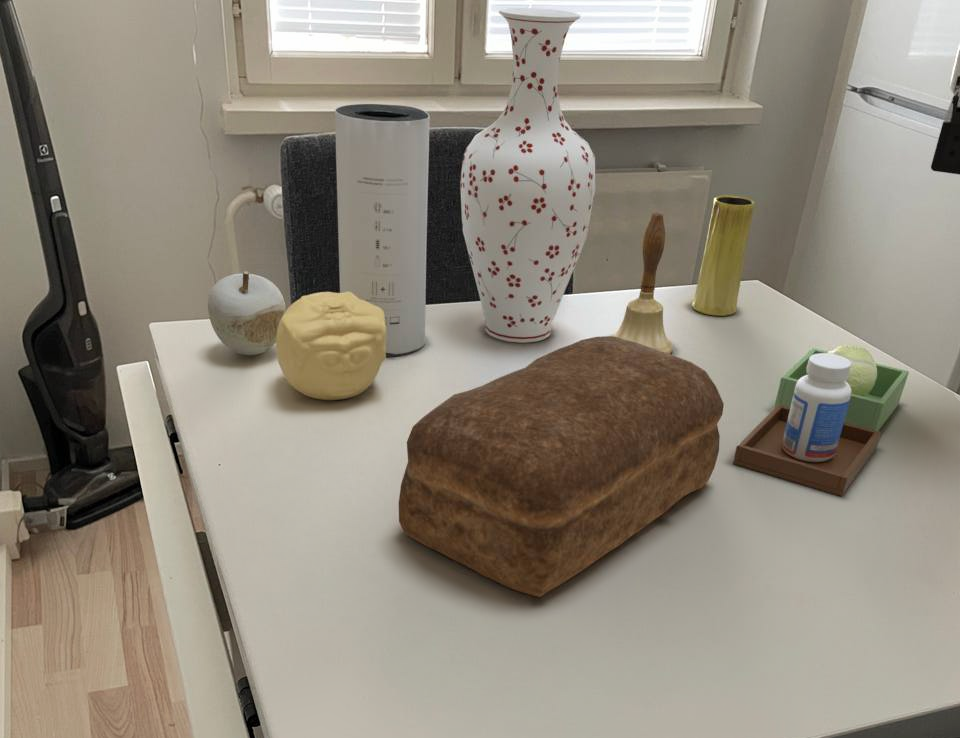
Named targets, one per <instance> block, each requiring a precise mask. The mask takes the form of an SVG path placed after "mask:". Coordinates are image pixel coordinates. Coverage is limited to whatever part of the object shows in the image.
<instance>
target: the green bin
mask: <svg viewBox="0 0 960 738" xmlns="http://www.w3.org/2000/svg"><path fill="white" fill-rule="evenodd" d="M828 352H829V351H826V350H822V349H818V348H814V347H812V348H811V349H810V350H809V351H807V353H806V354H805V355H803V357H801V358H800V360H798V361H797V362H796V363H795V364H794V365H793V366H792V367H791V368H790V369H788V370H787V371H786V372H785V374H783V375H782V376H781V378H780V381H779V386H778V390H777V394H776V397H775V398H776V399H775V403H774V407H773V409H774V408H775V407H776V406H777V405H783V406H786V407H791V403H792V399H793V394H794V390H795V386H796V383H797V381H798V380H799V379H800V378H801V377H803V376H805V375H808V374H807V369H806V368H807V365H808V361H809V358H810V356H812V355H814V354H819V353H828ZM875 364H876V368H877V378H876V381H875V384H874V386H873V388H872V390H871V391H870V393H869V394H868V395H867V396H866V397H863V396H859V395H855V394H851V397H850V401H849V405H848V408H847V412H846V416H845V420H844V422H846V423H849V424H853V425H857V426H861V427H864V428H868V429H872V430H875V431H879V432H880V430H881V428H882V427H883V425H884V424H885V423H886V422H887V420H888V419H889V417H890V416H891V415H892V414H893V412H894V411H895V410H896V408H897V407H898V405H899V404H900V401H901V398H902V395H903V391H904V388H905V386H906V382H907V380H908V376H909V373H910V371H909V370H905V369H901V368H897V367H892V366H888V365H884V364H879V363H876V362H875Z"/></svg>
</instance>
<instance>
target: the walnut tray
mask: <svg viewBox="0 0 960 738" xmlns="http://www.w3.org/2000/svg"><path fill="white" fill-rule="evenodd" d="M774 407H775V406H774ZM774 407H773V409H772V410H771V411H770V412H769V414H768V415H766V416H765V417H764V418H763V419H762V420H761V421H760V422H759V423H758V424H757V425H756V426H755V427H754V428H753V429H752V430H751V431H750V432H749V433H748V434H747V435H746V436H745V437H744V438H743V439H742V440H741V441H740V442H739V443H738V444H737V445H736V448H735V453H734V456H733V461H732V464H733V465H737V466H739V467H743V468H747V469H750V470H753V471H757V472H760V473H764V474H767V475H769V476H773V477H777V478H779V479H783V480H786V481H790V482H794V483H796V484H800V485H803V486H807V487H810V488H813V489H816V490H820V491H823V492H826V493H830V494H833V495H837V496H840V497H843V496H844V494H845V493H846V491H847V490H848V489H849V487H850V486H851V484H852V483H853V482H854V480H855V479H856V478H857V476H858V475H859V473H860V472H861V471H862V469H863V468H864V467H865V465H866V464H867V462H868V461H869V460H870V459H871V457H872V456H873V454H874V453H875V452H876V450H877V448H878V445H879V442H880V440H881V436H882V431H880V430H879V431H875V430H872V429H868V428H864V427H861V426H857V425H853V424H849V423H846V422H844V423H843V427H842V431H841V434H840V438H839V442H838V446H837V449H836V452H835V455H834V456H833V458H831V459H829V460H827V461H823V462H807V461H802V460H799V459H796V458H794V457H792V456H790V455H788V454H787V453H786V452H785V451H784V450H783V448H782V442H783V437H784V433H785V429H786V425H787V420H788V416H789V412H790V407H786V406H783V405H777V406H776V407H775V408H774Z"/></svg>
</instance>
